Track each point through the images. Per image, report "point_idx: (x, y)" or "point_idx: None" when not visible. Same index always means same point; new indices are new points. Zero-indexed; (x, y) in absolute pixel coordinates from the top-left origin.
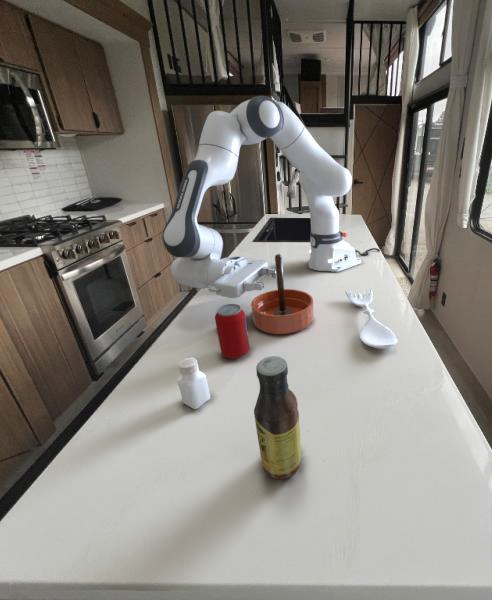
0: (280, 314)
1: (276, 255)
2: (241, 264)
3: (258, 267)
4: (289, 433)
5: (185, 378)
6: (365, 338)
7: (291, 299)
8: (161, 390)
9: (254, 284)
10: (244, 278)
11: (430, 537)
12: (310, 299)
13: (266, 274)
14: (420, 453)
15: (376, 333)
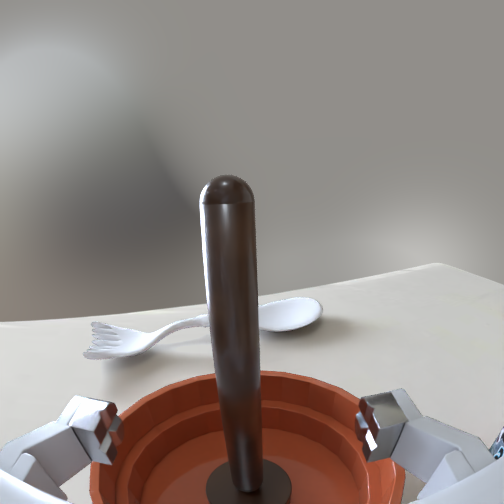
0: (277, 485)
1: (240, 180)
2: None
3: (38, 500)
4: None
5: None
6: (298, 322)
7: (131, 474)
8: None
9: (428, 421)
10: (467, 488)
11: (466, 277)
12: (192, 386)
13: (62, 491)
14: (428, 284)
15: (269, 319)
